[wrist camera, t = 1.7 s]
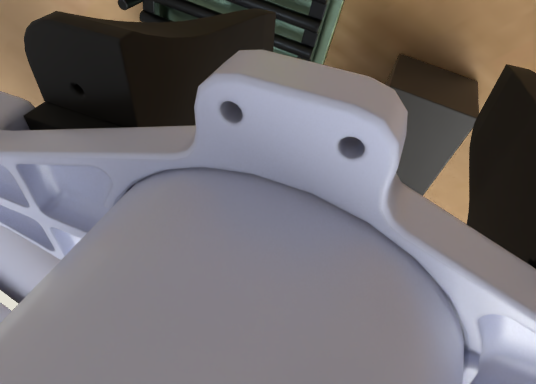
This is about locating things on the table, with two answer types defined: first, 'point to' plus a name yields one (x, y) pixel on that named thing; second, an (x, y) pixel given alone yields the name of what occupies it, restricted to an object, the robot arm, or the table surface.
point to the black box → (431, 118)
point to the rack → (283, 3)
